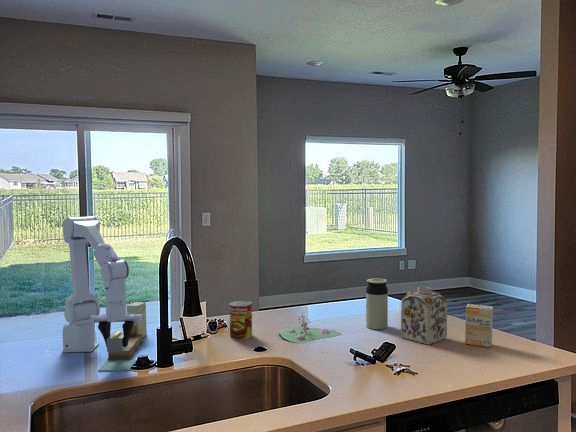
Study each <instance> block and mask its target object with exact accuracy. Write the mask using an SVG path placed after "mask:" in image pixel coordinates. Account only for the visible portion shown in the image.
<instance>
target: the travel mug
mask: <svg viewBox="0 0 576 432" xmlns="http://www.w3.org/2000/svg"><path fill="white" fill-rule="evenodd" d="M366 282H367V286H366V288H365V289H366V293H365V295H366V296H365V303H366V305H365V310H366V311H365V312H366V313H365V314H366V315H365V316H366V317H365V326H366V328H368V329H371V330H374V329H376V330H377V331H378V330H385V329H387V328H388V326H389V323H388V319H389V318H388V317H389V316H388V315H389V314H388V311H389V310H388V307H389V306H388V305H389V302H388V301H389V298H388V297H389V295H388V294H389V289H388V286H387V282H388V279H384V278H377V277H375V278H368V279H367V280H366ZM376 330H375V331H376Z"/></svg>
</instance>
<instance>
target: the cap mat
mask: <svg viewBox="0 0 576 432" xmlns="http://www.w3.org/2000/svg"><path fill="white" fill-rule="evenodd" d="M135 361H136V362H137V359H131V360H108V361H107V360H105V362H104V363H103V364H102V365H101V366H100V367H99V369H98V370H97V371H98V372H99V373H100V372H123V371H126V372H127V371H129V372H130V371H131V370H132V368H133V366H134V365H135V363H136V362H135ZM134 362H135V363H134ZM133 364H134V365H133ZM132 365H133V366H132ZM131 367H132V368H131Z"/></svg>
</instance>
